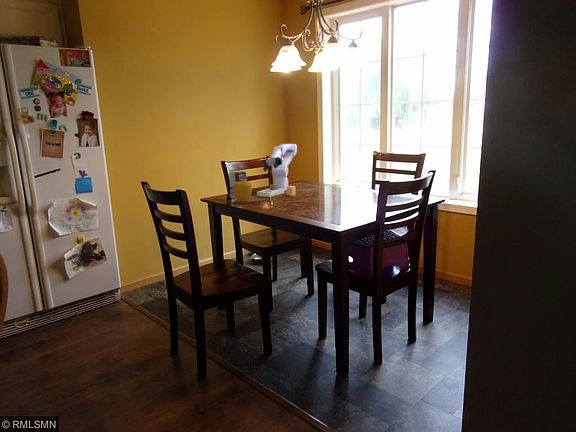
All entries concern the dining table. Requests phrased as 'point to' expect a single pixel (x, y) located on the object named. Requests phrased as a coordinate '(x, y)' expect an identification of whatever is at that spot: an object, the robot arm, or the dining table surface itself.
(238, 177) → the coffee box
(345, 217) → the dining table surface
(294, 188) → the plug
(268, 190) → the white rectangular base
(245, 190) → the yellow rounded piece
